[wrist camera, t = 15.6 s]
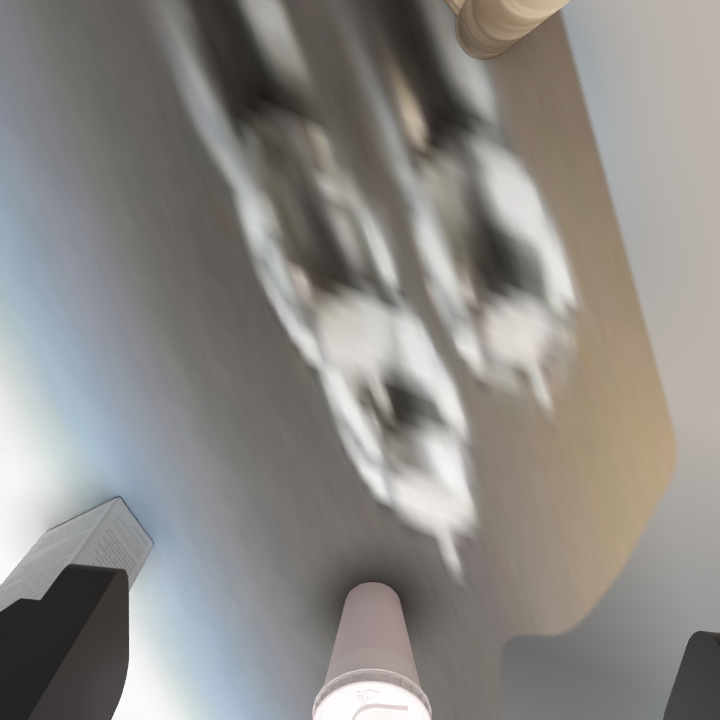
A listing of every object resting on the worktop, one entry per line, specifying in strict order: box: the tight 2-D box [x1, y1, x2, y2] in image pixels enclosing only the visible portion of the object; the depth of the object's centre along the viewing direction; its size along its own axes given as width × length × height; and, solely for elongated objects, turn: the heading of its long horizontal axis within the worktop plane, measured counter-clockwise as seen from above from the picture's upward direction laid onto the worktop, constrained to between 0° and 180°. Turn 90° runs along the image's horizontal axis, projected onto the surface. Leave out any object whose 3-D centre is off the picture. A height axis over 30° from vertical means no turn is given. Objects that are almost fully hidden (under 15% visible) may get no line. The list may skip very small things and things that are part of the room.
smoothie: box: [312, 582, 431, 720], centre depth 36 cm, size 6×6×14 cm
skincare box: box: [0, 497, 153, 611], centre depth 36 cm, size 6×4×12 cm
